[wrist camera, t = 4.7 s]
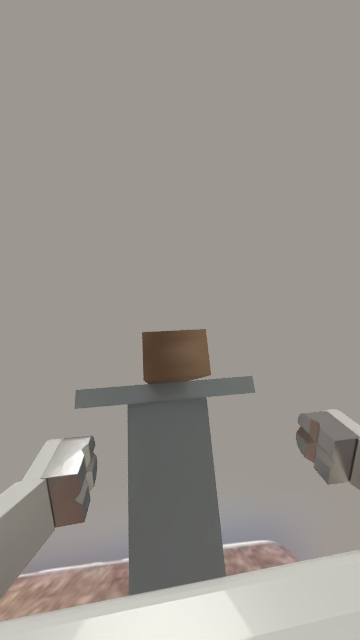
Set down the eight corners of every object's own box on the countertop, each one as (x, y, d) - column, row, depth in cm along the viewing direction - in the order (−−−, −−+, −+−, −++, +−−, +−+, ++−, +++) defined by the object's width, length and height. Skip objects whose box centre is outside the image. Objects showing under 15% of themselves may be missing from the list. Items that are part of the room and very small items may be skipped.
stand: (44, 924, 11) (75, 390, 19) (105, 633, 24) (108, 389, 32) (328, 821, 13) (252, 376, 21) (241, 603, 26) (214, 381, 34)
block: (143, 380, 11) (142, 332, 12) (151, 386, 32) (150, 368, 33) (210, 374, 11) (205, 329, 12) (175, 384, 32) (174, 367, 33)
